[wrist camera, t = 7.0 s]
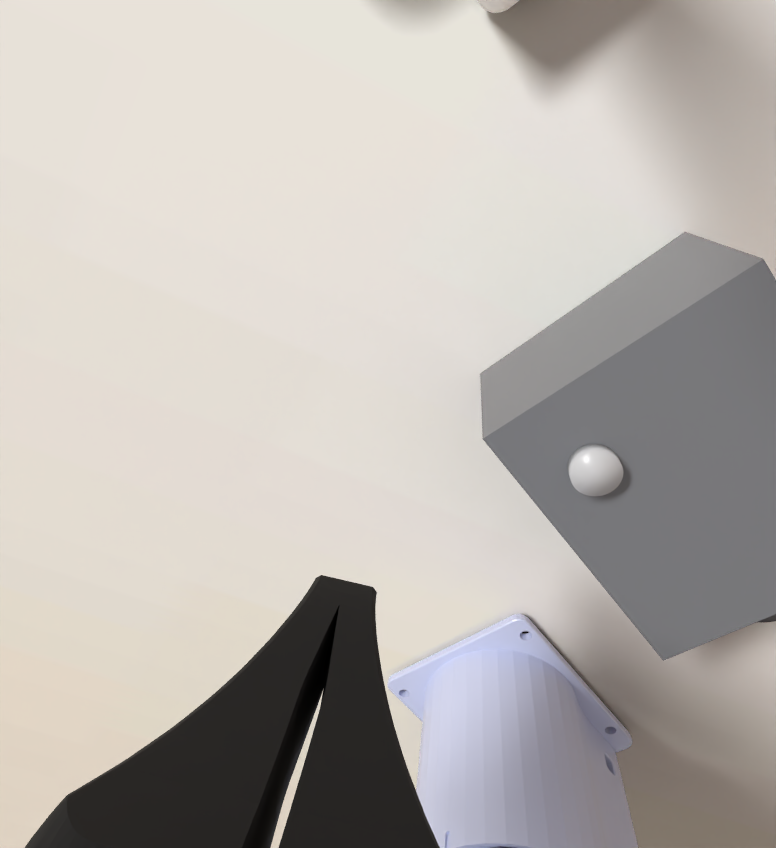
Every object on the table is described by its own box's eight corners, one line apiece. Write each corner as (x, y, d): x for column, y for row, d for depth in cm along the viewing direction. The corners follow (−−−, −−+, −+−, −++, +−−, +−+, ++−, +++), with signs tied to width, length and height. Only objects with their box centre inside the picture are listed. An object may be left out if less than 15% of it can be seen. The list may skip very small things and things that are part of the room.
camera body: (844, 484, 21) (972, 595, 16) (642, 580, 24) (691, 701, 19) (688, 229, 18) (777, 259, 13) (480, 373, 21) (482, 446, 16)
